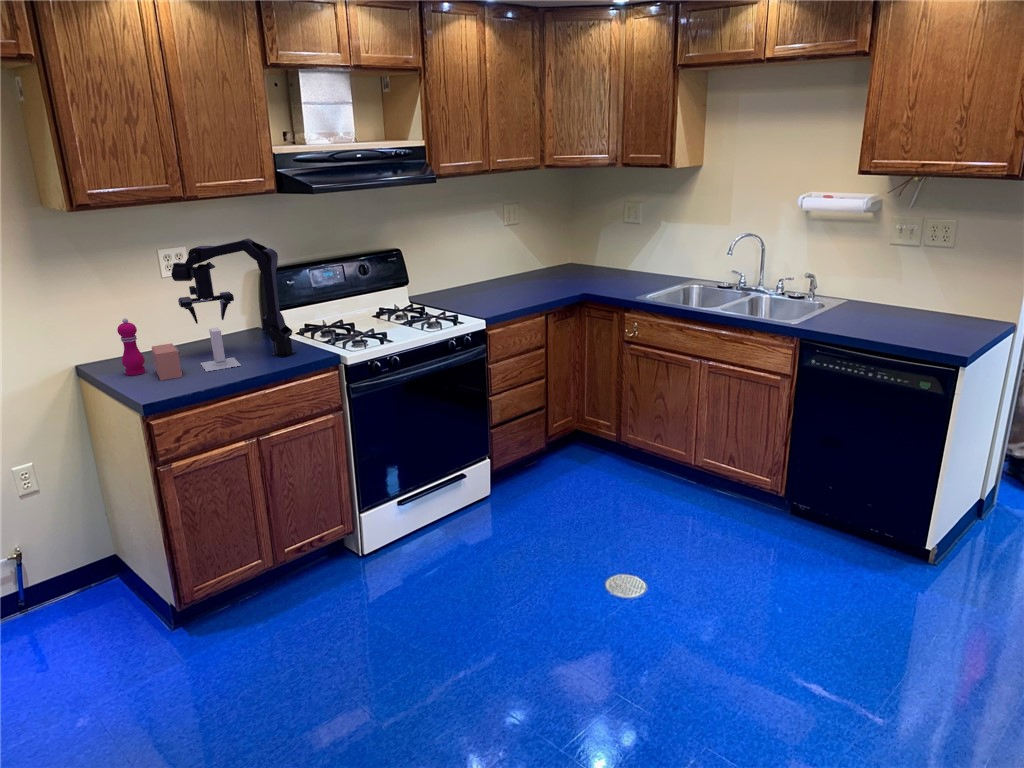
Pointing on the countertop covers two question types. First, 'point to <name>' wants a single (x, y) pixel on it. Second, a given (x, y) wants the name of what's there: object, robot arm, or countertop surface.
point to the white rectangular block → (217, 346)
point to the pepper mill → (130, 349)
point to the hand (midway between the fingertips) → (209, 321)
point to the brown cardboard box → (167, 361)
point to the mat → (212, 366)
